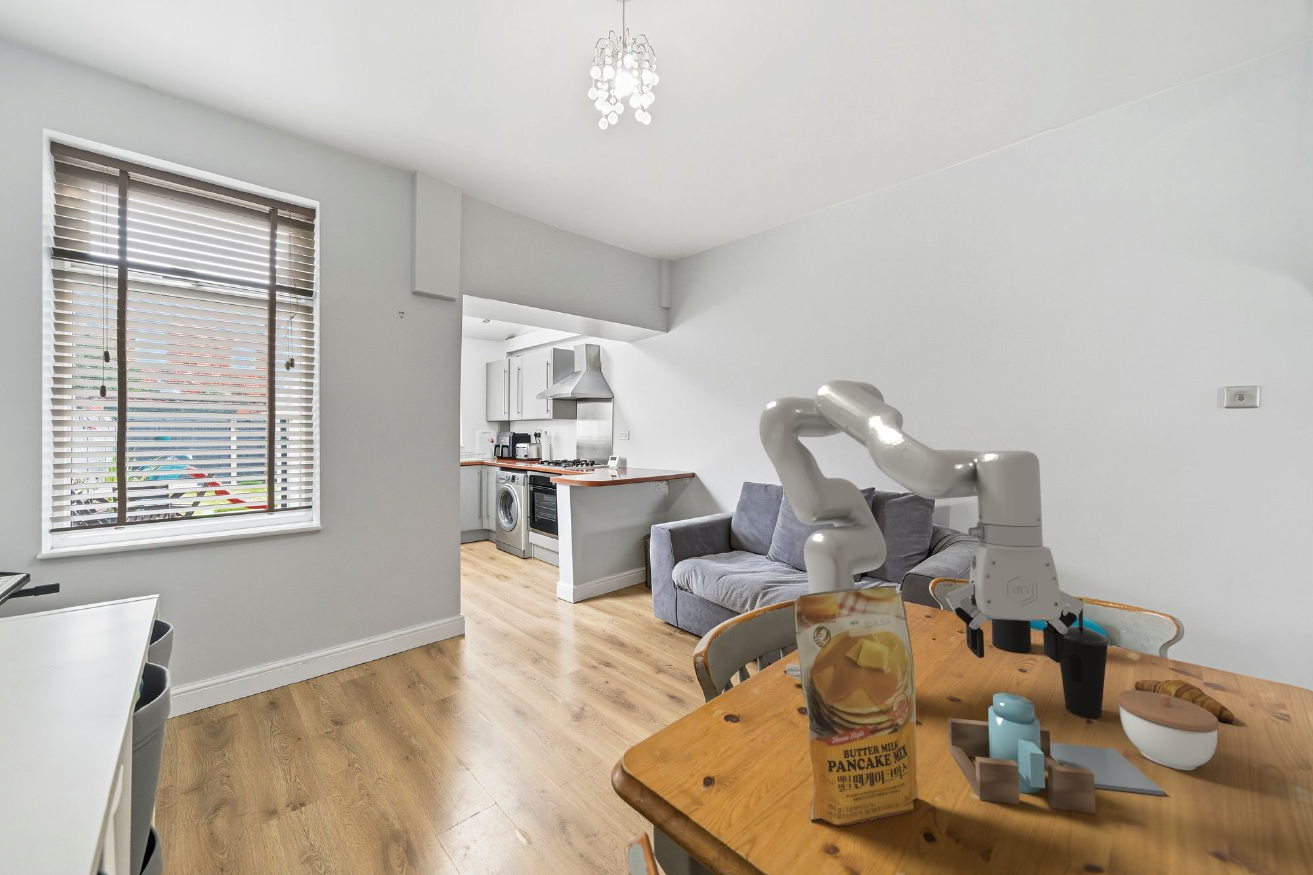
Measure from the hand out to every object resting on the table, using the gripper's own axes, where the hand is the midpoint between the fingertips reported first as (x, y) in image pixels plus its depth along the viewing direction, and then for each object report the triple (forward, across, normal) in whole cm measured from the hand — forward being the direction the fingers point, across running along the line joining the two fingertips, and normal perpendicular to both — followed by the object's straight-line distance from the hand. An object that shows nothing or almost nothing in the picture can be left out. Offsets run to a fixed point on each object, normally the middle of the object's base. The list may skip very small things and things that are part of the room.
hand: (1014, 656), depth 72 cm
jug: (+17, 0, -1) cm, 17 cm away
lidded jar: (+18, +25, +10) cm, 32 cm away
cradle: (+17, 0, 0) cm, 17 cm away
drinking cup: (+18, +21, +23) cm, 36 cm away
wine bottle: (+17, +23, +54) cm, 61 cm away
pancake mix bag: (+17, -23, -9) cm, 30 cm away
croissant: (+18, +40, +29) cm, 52 cm away
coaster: (+17, +13, +5) cm, 22 cm away
